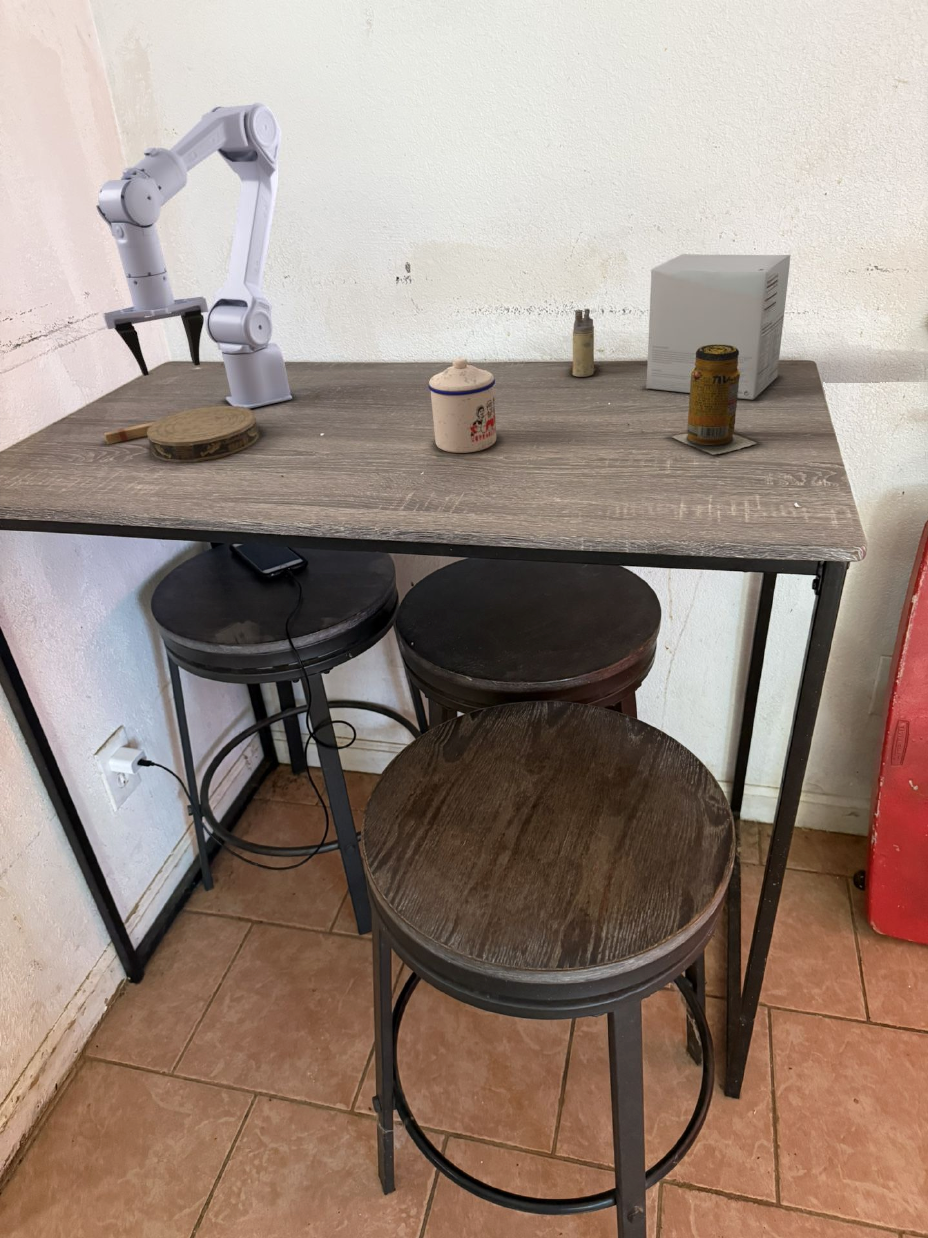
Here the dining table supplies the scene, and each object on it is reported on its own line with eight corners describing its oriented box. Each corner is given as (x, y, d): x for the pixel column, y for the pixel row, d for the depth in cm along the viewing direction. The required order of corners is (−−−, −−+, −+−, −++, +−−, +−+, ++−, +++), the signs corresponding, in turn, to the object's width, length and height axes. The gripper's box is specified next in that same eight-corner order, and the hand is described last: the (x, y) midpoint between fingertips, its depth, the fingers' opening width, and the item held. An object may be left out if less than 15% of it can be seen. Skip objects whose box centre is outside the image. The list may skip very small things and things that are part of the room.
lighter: (574, 365, 147) (573, 305, 141) (596, 364, 146) (596, 304, 141) (572, 377, 141) (571, 316, 136) (595, 377, 140) (595, 315, 135)
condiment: (713, 426, 117) (721, 338, 110) (756, 444, 110) (767, 351, 104) (671, 438, 114) (676, 348, 108) (712, 457, 108) (720, 362, 101)
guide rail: (220, 416, 137) (218, 407, 137) (222, 418, 136) (220, 409, 136) (106, 442, 131) (103, 432, 130) (108, 444, 130) (105, 435, 129)
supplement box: (779, 376, 133) (794, 253, 124) (754, 401, 124) (769, 271, 115) (674, 366, 142) (681, 251, 132) (643, 389, 133) (648, 267, 123)
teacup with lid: (482, 457, 114) (476, 370, 107) (422, 451, 117) (414, 367, 111) (515, 427, 123) (512, 346, 116) (459, 422, 126) (453, 343, 120)
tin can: (180, 470, 118) (174, 450, 116) (135, 445, 128) (129, 426, 127) (278, 438, 126) (274, 419, 125) (228, 417, 137) (224, 399, 135)
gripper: (97, 285, 114) (126, 384, 122) (203, 268, 120) (224, 364, 127) (90, 278, 120) (118, 373, 127) (192, 263, 125) (213, 355, 132)
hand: (171, 368), depth 127 cm, fingers open, 7 cm apart
